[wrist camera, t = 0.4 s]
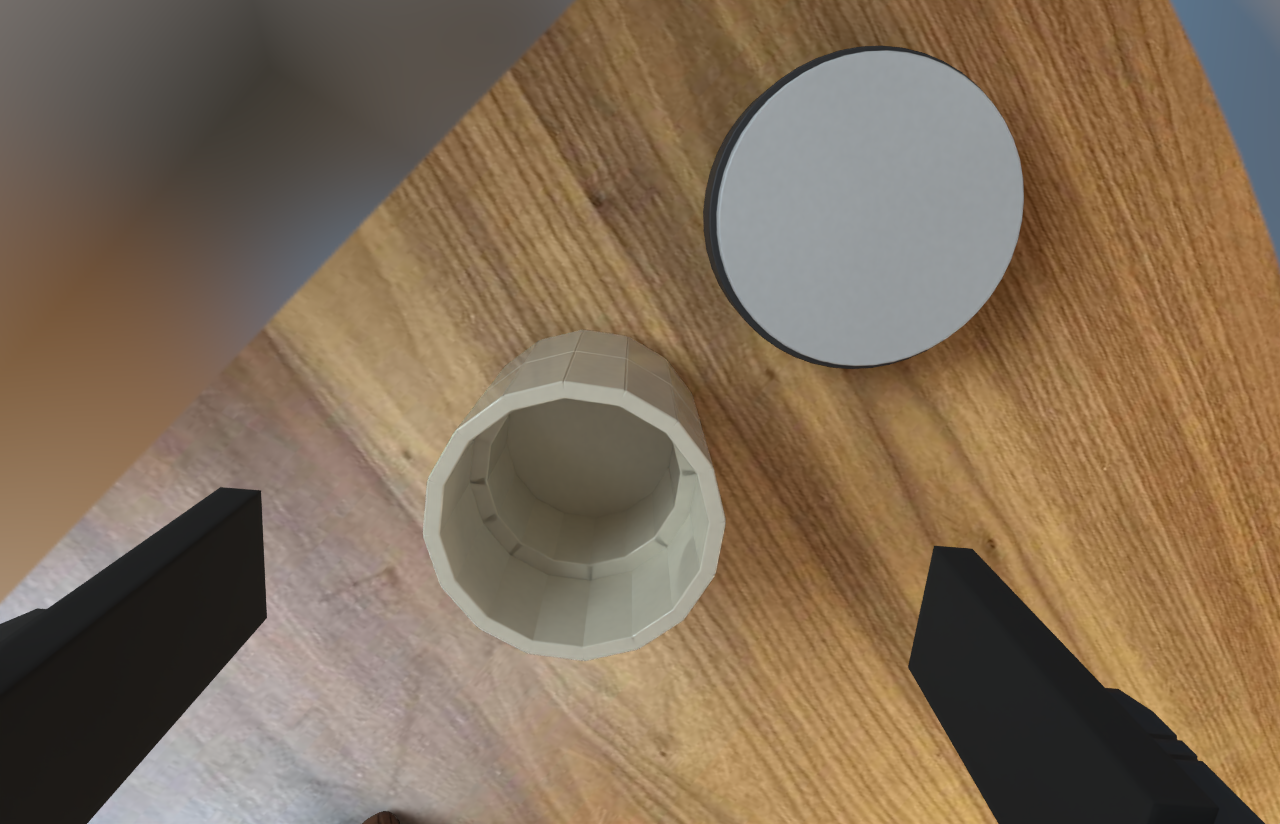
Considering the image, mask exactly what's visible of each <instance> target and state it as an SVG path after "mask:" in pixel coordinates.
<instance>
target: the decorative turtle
mask: <svg viewBox="0 0 1280 824" xmlns="http://www.w3.org/2000/svg"><path fill="white" fill-rule="evenodd" d="M362 824H400V822H399V820H398V819H397V818H396V817H395V815H394V814H392V813H390V812H387V811H383V812H379V813H377V814H375V815H373V816H372V817H370V818H368V819H367V820H366V821H364V822H363V823H362Z"/></svg>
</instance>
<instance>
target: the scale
mask: <svg viewBox="0 0 1280 824" xmlns="http://www.w3.org/2000/svg"><path fill="white" fill-rule="evenodd" d="M1023 204H1024V190H1023V176H1022V170H1021V164H1020V158H1019V155H1018V152H1017V149H1016V146H1015V142H1014V139H1013V137H1012V135H1011V133H1010V131H1009V129H1008V127H1007V125H1006V122H1005V120H1004V119H1003V117H1002V116H1001V114H1000V113H999V111H998V110H997V108H996V107H995V105H994V104H993V103H992V102H991V100H990V99H989V98H988V97H987V96H986V95H985V94H984V92H983V91H982V90H981V89H980V88H979V87H978V86H977V85H976V84H975V83H974V82H973V81H971V80H970V79H969V78H968V77H967V76H965V75H964V74H963V73H962V72H960V71H959V70H957V69H955V68H954V67H952V66H950V65H949V64H947V63H945V62H944V61H942V60H939V59H937V58H935V57H932V56H930V55H927V54H925V53H922V52H918V51H914V50H910V49H906V48H900V47H889V46H865V47H856V48H851V49H845V50H840V51H836V52H833V53H831V54H828V55H825V56H822V57H819V58H816V59H814V60H812V61H810V62H808V63H806V64H804V65H802V66H800V67H798V68H796V69H795V70H793V71H792V72H790V73H789V74H787V75H786V76H784V77H783V78H781V79H780V80H778V81H777V82H776V83H775V84H773V85H772V86H771V87H770V88H769V89H767V90H766V91H765V92H764V93H763V94H762V95H760V96H759V97H758V98H757V99H756V100H755V101H754V102H752V103H751V105H750V106H749V107H748V108H747V109H746V110H745V111H744V112H743V114H742V115H741V116H740V117H739V118H738V119H737V121H736V122H735V124H734V125H733V127H732V128H731V130H730V131H729V132H728V134H727V135H726V137H725V139H724V141H723V143H722V145H721V147H720V149H719V151H718V153H717V155H716V158H715V161H714V163H713V166H712V169H711V171H710V175H709V179H708V183H707V188H706V192H705V201H704V211H703V217H704V236H705V242H706V249H707V253H708V256H709V260H710V263H711V267H712V270H713V272H714V274H715V277H716V279H717V281H718V283H719V286H720V287H721V289H722V290H723V292H724V294H725V295H726V297H727V299H728V300H729V302H730V303H731V304H732V305H733V307H734V308H735V309H736V310H737V312H738V313H739V314H740V315H741V316H742V318H743V319H744V320H745V321H746V322H747V323H748V324H749V325H750V326H751V327H752V328H753V329H754V330H755V331H756V332H757V333H758V334H759V335H761V336H762V337H763V338H764V339H766V340H767V341H768V342H770V343H771V344H773V345H774V346H775V347H777V348H779V349H780V350H782V351H784V352H786V353H788V354H790V355H792V356H794V357H796V358H799V359H802V360H805V361H807V362H810V363H813V364H818V365H822V366H827V367H833V368H845V369H860V368H873V367H878V366H884V365H889V364H893V363H896V362H899V361H903V360H906V359H909V358H911V357H913V356H916V355H918V354H920V353H922V352H925V351H927V350H928V349H930V348H932V347H933V346H935V345H937V344H938V343H940V342H942V341H943V340H945V339H947V338H948V337H949V336H951V335H952V334H953V333H954V332H956V331H957V330H958V329H960V328H961V327H962V326H964V325H965V324H966V323H967V322H968V321H969V320H970V319H971V318H972V317H973V316H974V315H975V314H976V313H977V312H978V311H979V310H980V308H981V307H982V306H983V305H984V304H985V302H986V301H987V300H988V299H989V297H990V296H991V295H992V293H993V292H994V290H995V288H996V287H997V285H998V284H999V282H1000V281H1001V279H1002V277H1003V275H1004V273H1005V271H1006V269H1007V267H1008V265H1009V263H1010V261H1011V258H1012V255H1013V252H1014V250H1015V247H1016V244H1017V241H1018V237H1019V232H1020V227H1021V223H1022V215H1023Z"/></svg>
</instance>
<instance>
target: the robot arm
mask: <svg viewBox="0 0 1280 824" xmlns="http://www.w3.org/2000/svg"><path fill="white" fill-rule="evenodd" d="M266 618H267V610H266V589H265V567H264V546H263V525H262V503H261V491H260V490H247V489H235V488H223V487H220V488H219V489H217V490H216V491H215V492H213V493H212V494H210V495H209V496H207V497H206V498H205V499H203V500H202V501H200V502H199V503H197V504H196V505H195V506H193V507H192V508H190V509H189V510H187V511H186V512H185V513H183V514H182V515H180V516H179V517H178V518H176V519H175V520H173V521H172V522H170V523H169V524H168V525H166V526H165V527H163V528H162V529H160V530H159V531H158V532H156V533H155V534H153V535H152V536H150V537H149V538H148V539H146V540H145V541H143V542H142V543H141V544H139V545H138V546H136V547H135V548H133V549H132V550H131V551H129V552H128V553H126V554H125V555H123V556H122V557H121V558H119V559H118V560H116V561H115V562H113V563H112V564H111V565H109V566H108V567H106V568H105V569H103V570H102V571H101V572H99V573H98V574H96V575H95V576H94V577H92V578H91V579H89V580H88V581H86V582H85V583H84V584H82V585H81V586H79V587H78V588H76V589H75V590H74V591H72V592H71V593H69V594H68V595H66V596H65V597H64V598H62V599H61V600H59V601H58V602H57V603H55V604H54V605H52V606H51V607H49V608H48V609H35V610H33V611H30V612H28V613H26V614H23V615H21V616H18V617H16V618H14V619H11V620H9V621H7V622H4V623H2V624H0V824H87V823H88V822H89V821H90V820H91V819H92V817H93V816H94V815H95V814H96V813H97V812H98V811H99V809H100V808H101V807H102V806H103V805H104V804H105V803H106V801H107V800H108V799H109V798H110V797H111V796H112V795H113V793H114V792H115V791H116V790H117V789H118V788H119V787H120V785H121V784H122V783H123V782H124V781H125V780H126V778H127V777H128V776H129V775H130V774H131V773H132V772H133V770H134V769H135V768H136V767H137V766H138V765H139V764H140V762H141V761H142V760H143V759H144V758H145V757H146V756H147V754H148V753H149V752H150V751H151V750H152V749H153V748H154V746H155V745H156V744H157V743H158V742H159V741H160V740H161V738H162V737H163V736H164V735H165V734H166V733H167V732H168V730H169V729H170V728H171V727H172V726H173V725H174V724H175V722H176V721H177V720H178V719H179V718H180V717H181V716H182V714H183V713H184V712H185V711H186V710H187V709H188V708H189V706H190V705H191V704H192V703H193V702H194V701H195V700H196V698H197V697H198V696H199V695H200V694H201V693H202V691H203V690H204V689H205V688H206V687H207V686H208V685H209V683H210V682H211V681H212V680H213V679H214V678H215V677H216V675H217V674H218V673H219V672H220V671H221V670H222V669H223V667H224V666H225V665H226V664H227V663H228V662H229V661H230V659H231V658H232V657H233V656H234V655H235V654H236V653H237V651H238V650H239V649H240V648H241V647H242V646H243V645H244V643H245V642H246V641H247V640H248V639H249V638H250V637H251V635H252V634H253V633H254V632H255V631H256V630H257V629H258V627H259V626H260V625H261V624H262V623H263V622H264V621H265V619H266ZM908 668H909V670H910V671H911V673H912V675H913V676H914V678H915V680H916V682H917V683H918V685H919V687H920V689H921V690H922V692H923V694H924V695H925V697H926V699H927V701H928V702H929V704H930V706H931V708H932V709H933V711H934V713H935V715H936V716H937V718H938V720H939V721H940V723H941V725H942V727H943V728H944V730H945V732H946V734H947V735H948V737H949V739H950V740H951V742H952V744H953V746H954V747H955V749H956V751H957V753H958V754H959V756H960V758H961V760H962V761H963V763H964V765H965V766H966V768H967V770H968V772H969V773H970V775H971V777H972V779H973V780H974V782H975V784H976V785H977V787H978V789H979V791H980V792H981V794H982V796H983V798H984V799H985V801H986V803H987V804H988V806H989V808H990V810H991V811H992V813H993V815H994V817H995V818H996V820H997V822H998V824H1265V823H1264V822H1263V821H1262V820H1261V819H1260V818H1259V817H1258V816H1257V815H1256V814H1255V813H1254V812H1253V811H1252V810H1251V809H1250V808H1249V807H1248V806H1247V805H1246V804H1245V803H1244V802H1243V801H1242V800H1241V799H1240V798H1239V797H1238V796H1237V795H1236V794H1235V793H1234V792H1233V791H1232V790H1231V789H1230V788H1229V787H1228V786H1227V785H1226V784H1225V783H1224V782H1223V781H1222V780H1221V779H1220V778H1219V777H1218V776H1217V775H1216V774H1215V773H1214V772H1213V771H1212V770H1211V769H1210V768H1209V767H1208V766H1207V765H1206V764H1205V763H1204V762H1203V761H1198V759H1197V755H1196V754H1195V753H1194V752H1193V751H1192V750H1191V749H1190V748H1189V747H1188V746H1187V745H1186V744H1185V743H1184V742H1183V741H1180V740H1177V735H1176V734H1175V733H1174V732H1173V731H1172V730H1171V729H1170V728H1169V727H1168V726H1167V725H1166V724H1165V723H1164V722H1163V721H1162V720H1161V719H1160V718H1159V717H1158V716H1157V715H1156V714H1155V713H1154V712H1153V711H1151V710H1150V709H1148V708H1147V707H1145V706H1144V705H1142V704H1141V703H1139V702H1137V701H1136V700H1134V699H1133V698H1131V697H1130V696H1128V695H1127V694H1125V693H1124V692H1122V691H1121V690H1119V689H1112V688H1105V687H1104V686H1103V685H1102V684H1101V683H1100V682H1099V681H1098V680H1097V679H1096V678H1095V677H1094V676H1093V675H1092V674H1091V673H1090V672H1089V671H1088V670H1087V669H1086V668H1085V667H1084V665H1083V664H1082V663H1081V662H1080V661H1079V660H1078V659H1077V658H1076V657H1075V656H1074V655H1073V654H1072V653H1071V652H1070V651H1069V650H1068V649H1067V648H1066V647H1065V646H1064V644H1063V643H1062V642H1061V641H1060V640H1059V639H1058V638H1057V637H1056V636H1055V635H1054V634H1053V633H1052V632H1051V631H1050V630H1049V629H1048V628H1047V627H1046V626H1045V625H1044V624H1043V622H1042V621H1041V620H1040V619H1039V618H1038V617H1037V616H1036V615H1035V614H1034V613H1033V612H1032V611H1031V610H1030V609H1029V608H1028V607H1027V606H1026V605H1025V604H1024V603H1023V601H1022V600H1021V599H1020V598H1019V597H1018V596H1017V595H1016V594H1015V593H1014V592H1013V591H1012V590H1011V589H1010V588H1009V587H1008V586H1007V585H1006V584H1005V583H1004V582H1003V581H1002V579H1001V578H1000V577H999V576H998V575H997V574H996V573H995V572H994V571H993V570H992V569H991V568H990V567H989V566H988V565H987V564H986V563H985V562H984V561H983V560H982V558H981V557H980V556H979V555H978V554H977V553H976V552H975V551H974V550H973V549H968V548H956V547H944V546H934V549H933V553H932V558H931V563H930V567H929V572H928V577H927V581H926V586H925V591H924V595H923V600H922V605H921V609H920V614H919V619H918V623H917V628H916V633H915V637H914V642H913V647H912V651H911V656H910V661H909V665H908Z"/></svg>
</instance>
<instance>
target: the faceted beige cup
mask: <svg viewBox="0 0 1280 824" xmlns="http://www.w3.org/2000/svg"><path fill="white" fill-rule="evenodd" d="M725 521H726V519H725V514H724V510H723V506H722V501H721V497H720V493H719V488H718V484H717V480H716V475H715V471H714V467H713V464H712V460H711V457H710V454H709V450H708V447H707V443H706V440H705V436H704V433H703V429H702V426H701V422H700V419H699V416H698V412H697V409H696V405H695V402H694V398H693V395H692V393H691V392H690V390H689V389H688V387H687V386H686V385H685V383H684V382H683V381H682V379H681V378H680V377H679V375H678V374H677V373H676V371H675V370H674V369H673V367H672V366H671V364H670V363H669V362H668V360H666V359H665V358H664V357H662V356H661V355H659V354H657V353H656V352H654V351H652V350H651V349H649V348H647V347H645V346H644V345H642V344H640V343H639V342H637V341H635V340H634V339H632V338H630V337H627V336H624V335H617V334H611V333H604V332H597V331H591V330H579V331H575V332H570V333H566V334H562V335H558V336H554V337H550V338H546V339H542V340H540V341H538V342H536V343H535V344H534V345H532V346H531V347H530V348H528V349H527V350H526V351H524V352H523V353H522V354H520V355H519V356H518V357H516V358H515V359H514V360H512V361H511V362H509V363H508V364H507V365H505V367H504V368H503V369H502V371H501V372H500V373H499V374H498V376H497V377H496V378H495V380H494V381H493V382H492V384H491V385H490V386H489V387H488V389H487V390H486V391H485V393H484V394H483V395H482V397H481V398H480V399H479V400H478V402H477V403H476V404H475V406H474V407H473V408H472V410H471V411H470V412H469V413H468V415H467V416H466V417H465V419H464V420H463V421H462V423H461V424H460V425H459V427H458V428H457V429H456V430H455V432H454V433H453V435H452V437H451V439H450V440H449V442H448V444H447V446H446V448H445V449H444V451H443V453H442V455H441V456H440V458H439V460H438V462H437V463H436V465H435V467H434V469H433V470H432V472H431V474H430V476H429V478H428V481H427V489H426V501H425V513H424V525H423V537H424V540H425V543H426V546H427V549H428V552H429V555H430V557H431V560H432V563H433V566H434V569H435V572H436V574H437V577H438V580H439V583H440V586H442V589H443V590H444V591H445V592H446V593H447V594H448V595H449V596H450V597H451V599H452V600H453V601H454V602H455V603H456V604H457V605H458V606H459V608H460V609H461V610H462V611H463V612H464V613H465V614H466V615H467V616H468V618H469V619H470V620H471V621H472V622H473V623H474V624H475V625H476V626H477V627H479V629H480V630H482V631H484V632H486V633H488V634H490V635H492V636H494V637H496V638H498V639H500V640H502V641H504V642H506V643H507V644H509V645H511V646H513V647H515V648H517V649H519V650H521V651H523V652H525V653H529V654H533V655H540V656H548V657H556V658H563V659H571V660H579V661H583V660H584V661H588V660H593V659H597V658H602V657H606V656H611V655H615V654H620V653H625V652H629V651H634V650H638V649H640V648H642V647H643V646H645V645H646V644H648V643H649V642H651V641H652V640H654V639H655V638H657V637H659V636H660V635H662V634H663V633H665V632H666V631H668V630H669V629H671V628H672V627H674V626H675V625H677V624H679V623H680V622H682V621H683V620H684V619H685V618H686V616H687V615H688V614H689V612H690V611H691V609H692V608H693V606H694V605H695V604H696V602H697V601H698V599H699V598H700V596H701V595H702V593H703V592H704V591H705V589H706V588H707V586H708V585H709V583H710V582H711V581H712V579H713V578H714V576H715V574H716V570H717V565H718V560H719V555H720V550H721V545H722V540H723V535H724V530H725V525H726V522H725Z"/></svg>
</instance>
